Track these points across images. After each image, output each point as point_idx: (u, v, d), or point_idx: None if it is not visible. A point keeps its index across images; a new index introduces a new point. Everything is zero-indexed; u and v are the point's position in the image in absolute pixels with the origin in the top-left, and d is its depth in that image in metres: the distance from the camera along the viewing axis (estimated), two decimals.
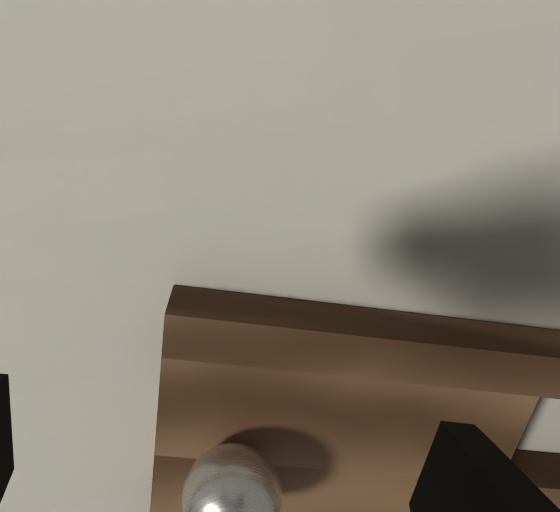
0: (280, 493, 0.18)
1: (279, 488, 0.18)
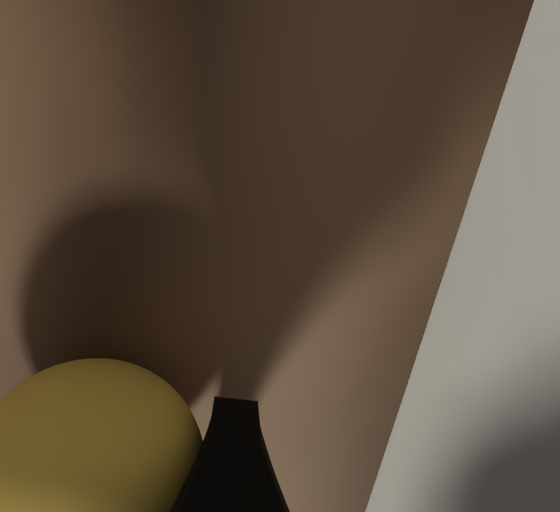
0: None
1: None
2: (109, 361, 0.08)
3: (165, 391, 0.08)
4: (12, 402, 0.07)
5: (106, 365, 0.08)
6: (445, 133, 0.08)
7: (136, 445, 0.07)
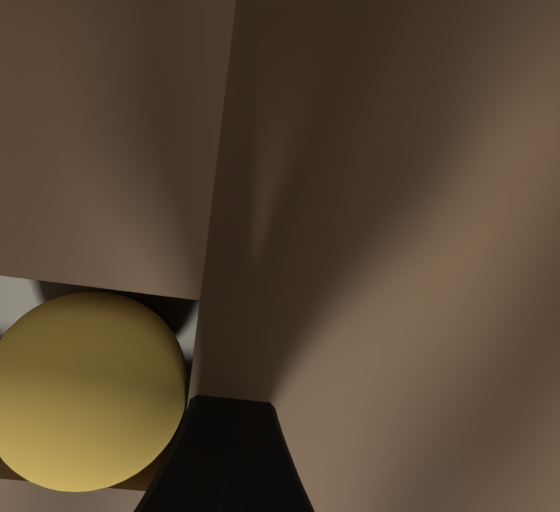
0: None
1: None
2: (52, 302, 0.09)
3: (99, 291, 0.10)
4: (60, 359, 0.08)
5: (64, 300, 0.09)
6: None
7: (149, 312, 0.09)
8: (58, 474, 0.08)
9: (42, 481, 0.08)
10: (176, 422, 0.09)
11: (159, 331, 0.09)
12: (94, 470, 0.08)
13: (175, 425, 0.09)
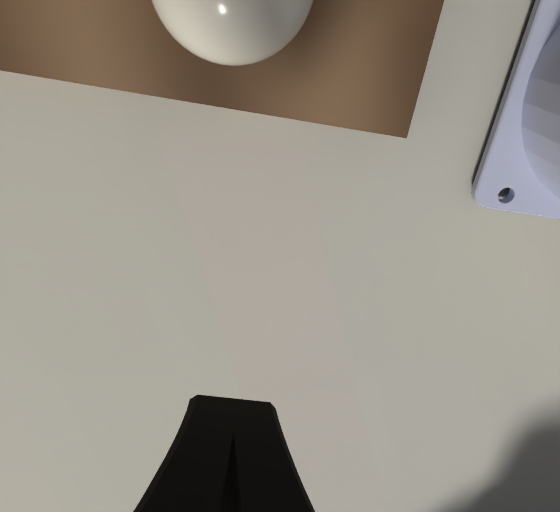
0: None
1: None
2: None
3: None
4: None
5: None
6: None
7: None
8: None
9: None
10: None
11: None
12: None
13: None
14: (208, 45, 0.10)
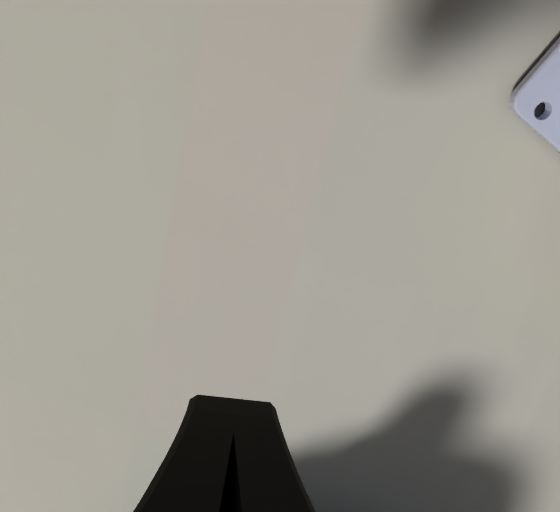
0: None
1: None
2: None
3: None
4: None
5: None
6: None
7: None
8: None
9: None
10: None
11: None
12: None
13: None
14: None
